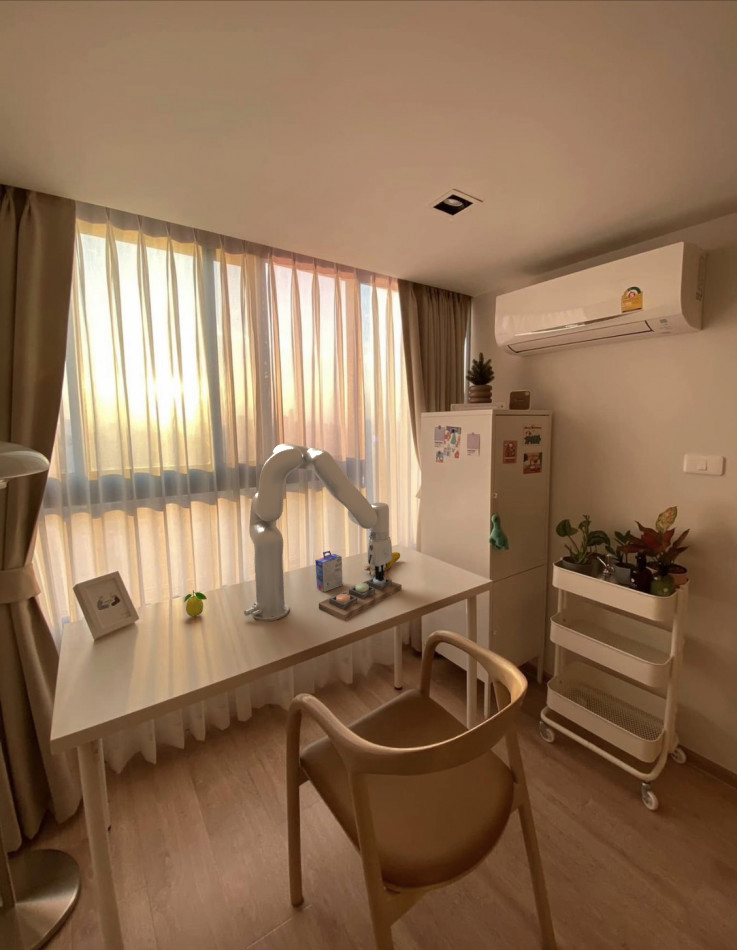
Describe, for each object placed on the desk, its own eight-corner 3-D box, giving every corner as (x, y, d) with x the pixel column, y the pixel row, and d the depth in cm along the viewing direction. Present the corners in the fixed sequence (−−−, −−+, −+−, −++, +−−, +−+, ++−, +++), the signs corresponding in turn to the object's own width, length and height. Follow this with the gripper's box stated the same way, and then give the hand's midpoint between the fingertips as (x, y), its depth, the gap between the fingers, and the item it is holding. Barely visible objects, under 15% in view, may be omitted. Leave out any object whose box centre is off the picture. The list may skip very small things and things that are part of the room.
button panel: (344, 620, 137) (344, 610, 137) (318, 608, 146) (318, 598, 145) (401, 589, 161) (401, 580, 160) (376, 580, 170) (376, 571, 169)
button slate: (380, 588, 157) (380, 583, 157) (370, 584, 160) (370, 579, 160) (388, 584, 161) (388, 579, 160) (378, 580, 164) (378, 576, 164)
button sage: (362, 595, 150) (362, 590, 149) (352, 591, 153) (352, 586, 153) (371, 590, 153) (371, 585, 153) (361, 586, 157) (361, 582, 156)
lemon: (208, 617, 140) (206, 590, 139) (190, 623, 136) (188, 595, 135) (200, 610, 145) (198, 584, 143) (183, 616, 141) (181, 589, 140)
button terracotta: (343, 607, 142) (343, 601, 142) (333, 602, 146) (333, 597, 145) (353, 602, 146) (353, 596, 146) (343, 597, 149) (343, 592, 149)
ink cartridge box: (335, 581, 169) (334, 547, 167) (343, 585, 165) (342, 551, 163) (315, 588, 163) (314, 553, 160) (323, 592, 159) (322, 557, 156)
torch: (399, 569, 191) (370, 581, 170) (387, 558, 195) (357, 569, 174) (407, 555, 188) (379, 566, 168) (395, 545, 192) (365, 554, 171)
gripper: (374, 541, 149) (374, 588, 152) (398, 532, 160) (398, 576, 163) (359, 537, 154) (359, 583, 157) (384, 528, 165) (384, 571, 168)
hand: (379, 579), depth 160 cm, fingers closed
